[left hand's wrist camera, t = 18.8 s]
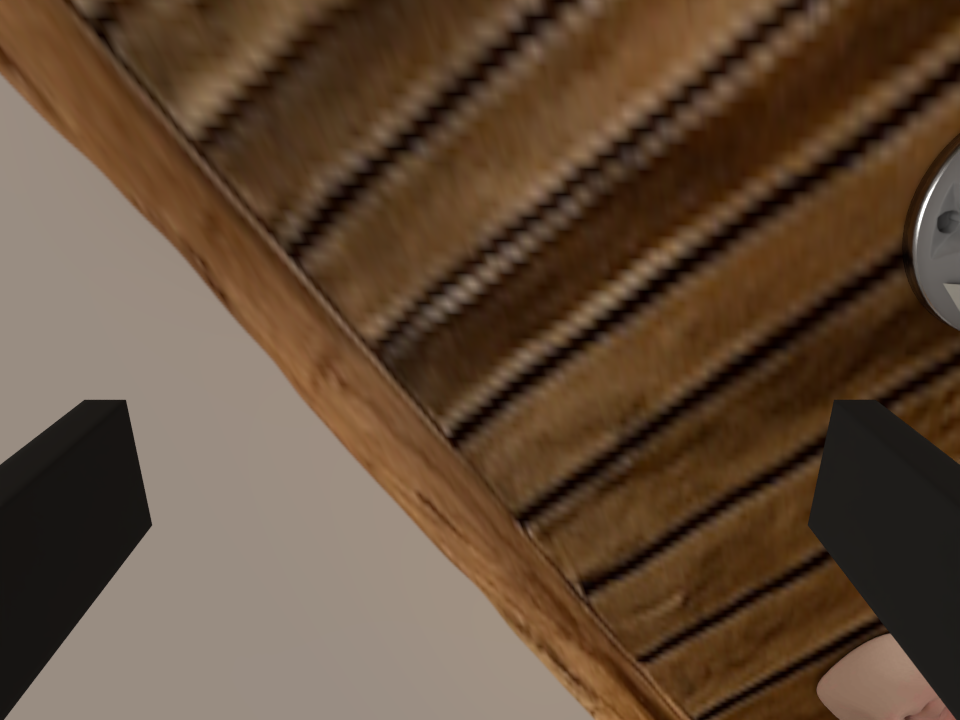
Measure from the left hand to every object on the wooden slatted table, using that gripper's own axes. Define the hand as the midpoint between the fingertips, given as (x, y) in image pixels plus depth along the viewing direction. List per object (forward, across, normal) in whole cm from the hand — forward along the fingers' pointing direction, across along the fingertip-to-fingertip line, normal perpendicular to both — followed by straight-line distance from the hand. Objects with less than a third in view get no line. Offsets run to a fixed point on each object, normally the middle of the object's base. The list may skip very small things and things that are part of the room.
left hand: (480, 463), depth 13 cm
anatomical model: (+32, +35, -39) cm, 61 cm away
